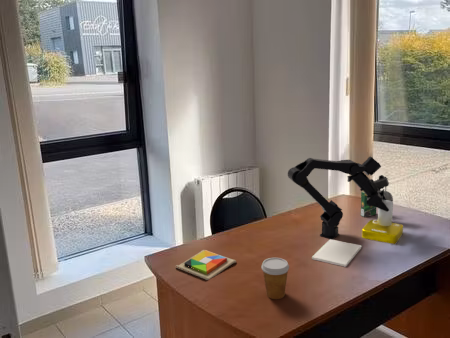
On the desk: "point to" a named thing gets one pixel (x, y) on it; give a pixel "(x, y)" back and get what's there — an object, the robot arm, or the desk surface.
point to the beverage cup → (388, 195)
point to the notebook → (337, 252)
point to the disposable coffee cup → (275, 277)
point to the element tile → (382, 232)
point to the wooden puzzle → (206, 264)
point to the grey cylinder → (385, 214)
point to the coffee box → (366, 207)
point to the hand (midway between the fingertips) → (388, 208)
